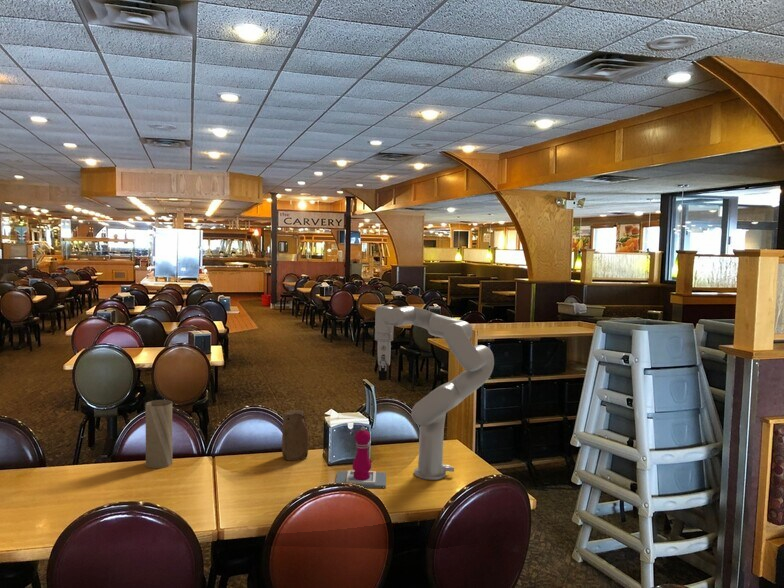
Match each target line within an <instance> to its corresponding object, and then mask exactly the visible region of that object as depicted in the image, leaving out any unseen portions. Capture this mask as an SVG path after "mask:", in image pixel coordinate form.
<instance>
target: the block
mask: <svg viewBox="0 0 784 588" xmlns="http://www.w3.org/2000/svg"><path fill="white" fill-rule="evenodd" d="M282 417H283V418H282V430H281V431H282V432H281V433H282V434H281V435H282V436H281V452H282V458H283V459H284V460H286V461H291V462H292V461H293V460H294V461H298V460H300V459H301V460H305V459H306V458H307V457H308V455H309V429H308V426H307V423H308V422H307V417H306V414H305V412H304V411H303V410H300V409H297V410H294V409H293V410H286V411H284V413H283V416H282ZM301 460H300V461H301Z"/></svg>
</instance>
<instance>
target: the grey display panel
mask: <svg viewBox="0 0 784 588" xmlns="http://www.w3.org/2000/svg"><path fill="white" fill-rule="evenodd" d="M354 472H355V471H354V470H346V471H345V470H342V471H341V470H340V471H339V470H338V471H337V475H336V479H335V482H334V484H335V483H352V484H356V485H360V486H363V487H367V488H366V489H368V488H369V489H374V488H375V489H382V488H381V487H384V488H383V489H387V488H386V487H387V482H386V481H387V472H385V471H384V472H382V471H381V472H380V471H379V472H377V471H376V470H369V472H370V478H369V479H366V480H357V479H355V478H354ZM363 487H362V488H363Z"/></svg>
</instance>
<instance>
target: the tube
mask: <svg viewBox="0 0 784 588" xmlns="http://www.w3.org/2000/svg"><path fill="white" fill-rule="evenodd" d="M172 464H173V401H172V400H168V399H154V400H151V401H146V402H145V467H146V468H149V469H157V470H158V469H163V468H167V467H170V466H172Z"/></svg>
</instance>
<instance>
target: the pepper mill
mask: <svg viewBox="0 0 784 588" xmlns="http://www.w3.org/2000/svg"><path fill="white" fill-rule="evenodd" d="M354 440H355V447H356V454H355V457H354V459H353V461H352V470H353V471H355V472H354V478H355V479H357V480H366V479H369V478H370V472H369V471H371V469H372V461H371V459H370V456H369V453H368V451H369V450H368V449H369V447H370V441H371V434H370V432H369V431H368V430H366V427H365V426H361V427H360V429H359V430H358V431H356V432H355V434H354Z"/></svg>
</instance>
